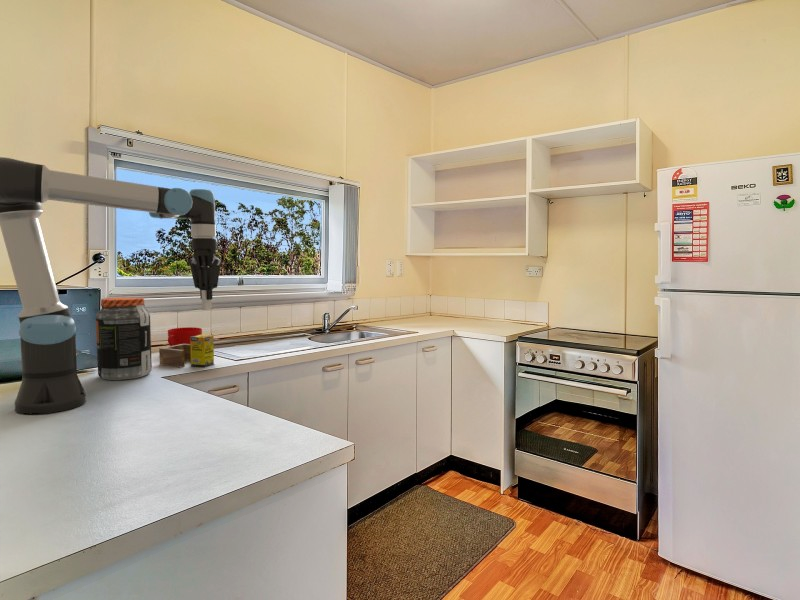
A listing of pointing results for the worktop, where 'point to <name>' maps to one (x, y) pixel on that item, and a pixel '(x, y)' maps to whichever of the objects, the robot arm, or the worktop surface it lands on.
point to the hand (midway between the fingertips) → (207, 309)
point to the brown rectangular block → (175, 355)
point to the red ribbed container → (182, 335)
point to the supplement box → (202, 350)
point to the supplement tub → (123, 339)
